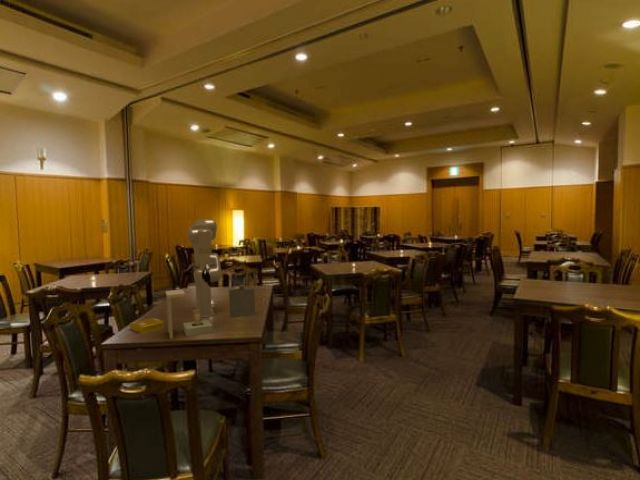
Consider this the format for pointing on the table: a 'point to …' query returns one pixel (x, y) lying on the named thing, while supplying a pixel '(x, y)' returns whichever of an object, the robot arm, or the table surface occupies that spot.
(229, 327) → the table surface
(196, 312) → the peg
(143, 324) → the element tile
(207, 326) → the socket block
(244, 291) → the hip flask
